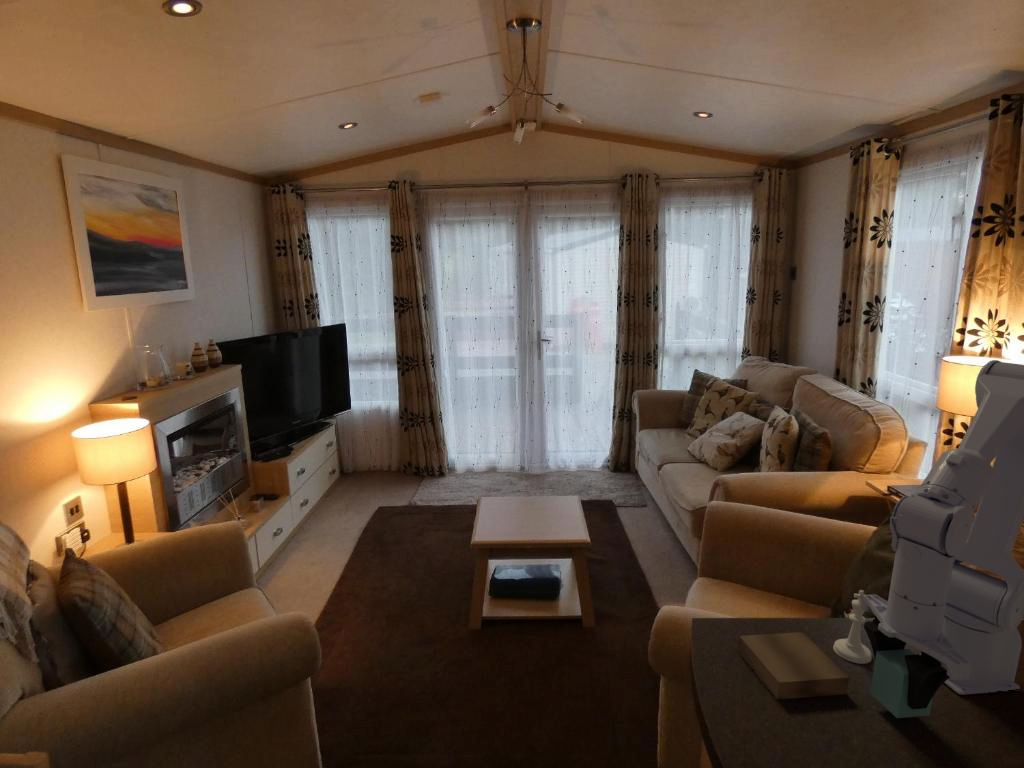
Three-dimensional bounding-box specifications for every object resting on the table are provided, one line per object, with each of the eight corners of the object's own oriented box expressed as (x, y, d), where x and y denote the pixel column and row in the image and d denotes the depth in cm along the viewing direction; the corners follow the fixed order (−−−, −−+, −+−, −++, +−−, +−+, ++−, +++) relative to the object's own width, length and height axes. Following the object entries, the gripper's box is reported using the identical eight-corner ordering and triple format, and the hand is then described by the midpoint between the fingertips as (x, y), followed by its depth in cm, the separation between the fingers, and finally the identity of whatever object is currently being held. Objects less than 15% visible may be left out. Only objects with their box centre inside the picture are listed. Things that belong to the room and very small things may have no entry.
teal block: (900, 690, 77) (908, 648, 76) (929, 715, 73) (937, 672, 72) (869, 692, 77) (876, 651, 75) (896, 718, 72) (904, 674, 71)
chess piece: (877, 666, 84) (887, 602, 82) (839, 660, 85) (849, 597, 83) (864, 645, 89) (873, 584, 87) (828, 640, 90) (837, 580, 88)
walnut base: (800, 647, 88) (802, 632, 88) (846, 694, 78) (849, 677, 78) (737, 651, 87) (739, 635, 86) (776, 699, 77) (779, 682, 76)
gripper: (846, 565, 78) (833, 657, 81) (939, 630, 64) (919, 739, 67) (894, 563, 79) (879, 654, 82) (995, 627, 65) (974, 734, 68)
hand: (900, 692), depth 74 cm, fingers closed on teal block, 4 cm apart
